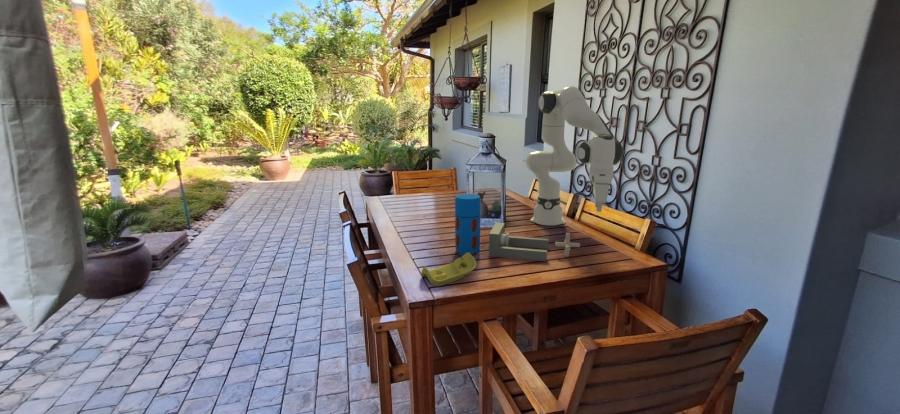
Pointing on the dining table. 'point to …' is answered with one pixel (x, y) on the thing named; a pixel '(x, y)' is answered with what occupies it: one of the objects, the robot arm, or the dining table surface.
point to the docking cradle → (518, 253)
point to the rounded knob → (505, 239)
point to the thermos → (467, 224)
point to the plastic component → (450, 270)
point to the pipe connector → (567, 244)
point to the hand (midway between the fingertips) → (598, 209)
